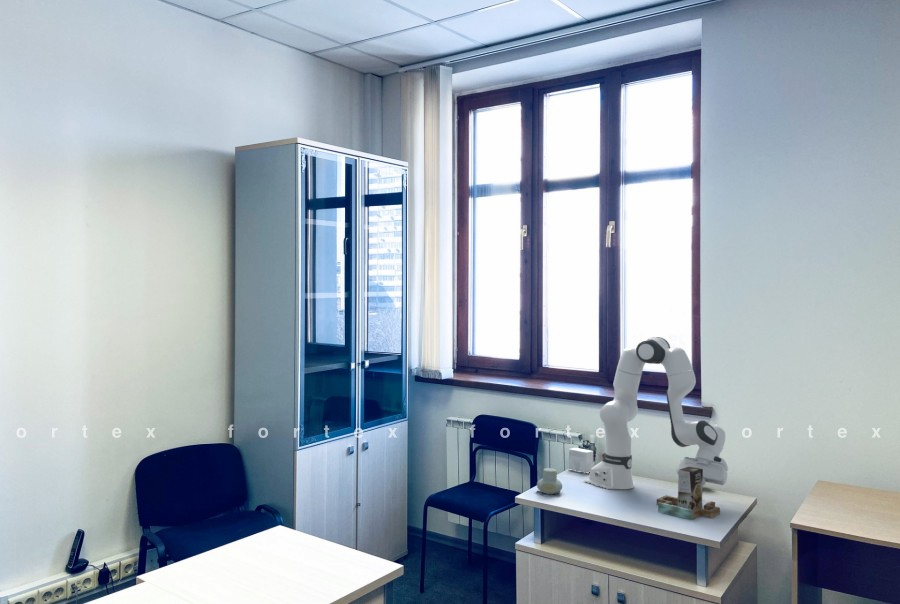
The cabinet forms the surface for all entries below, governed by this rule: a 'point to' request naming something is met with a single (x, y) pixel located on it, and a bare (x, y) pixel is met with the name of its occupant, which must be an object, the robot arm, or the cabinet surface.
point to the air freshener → (549, 482)
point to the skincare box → (580, 459)
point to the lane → (668, 508)
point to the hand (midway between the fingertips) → (695, 488)
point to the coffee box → (690, 488)
